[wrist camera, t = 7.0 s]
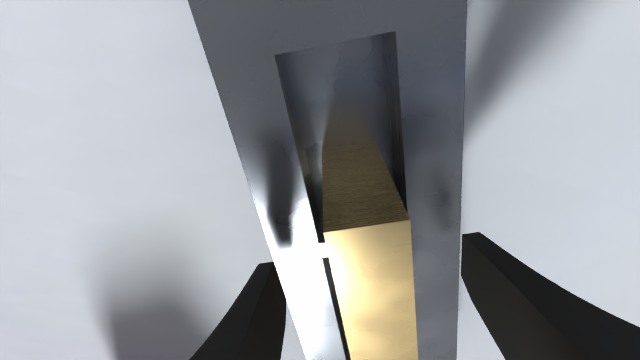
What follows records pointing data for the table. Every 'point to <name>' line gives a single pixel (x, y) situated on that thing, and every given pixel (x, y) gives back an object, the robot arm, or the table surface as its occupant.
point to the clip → (369, 253)
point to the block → (346, 137)
